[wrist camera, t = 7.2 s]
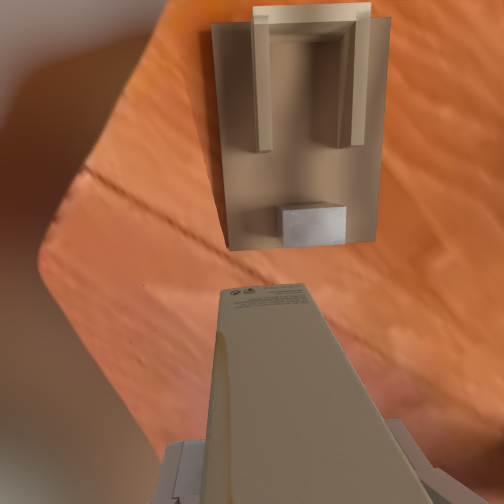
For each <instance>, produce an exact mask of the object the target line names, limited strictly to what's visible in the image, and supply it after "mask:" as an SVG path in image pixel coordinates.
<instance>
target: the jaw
mask: <svg viewBox="0 0 504 504" xmlns="http://www.w3.org/2000/svg"><path fill="white" fill-rule="evenodd" d="M276 216H277V239H278V240H279V242H280V243H281V245H282V246H283V248H294V247H308V246H322V245H336V244H345V231H346V206H343V205H339V204H336V203H332V202H328V203H312V204H296V205H281V206H276Z"/></svg>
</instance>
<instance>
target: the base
mask: <svg viewBox="0 0 504 504" xmlns="http://www.w3.org/2000/svg"><path fill="white" fill-rule="evenodd" d="M390 25H391V17H371V2H368V3H338V4H309V5H279V6H253V11H252V20H251V22H230V23H211V33H212V45H213V57H214V69H215V81H216V94H217V106H218V118H219V130H220V142H221V155H222V167H223V179H224V191H225V203H226V216H227V228H228V240H229V251H242V250H257V249H271V248H283V246H282V245H281V243H280V242H279V240H278V239H277V216H276V206H281V205H296V204H312V203H328V202H332V203H336V204H339V205H343V206H346V231H345V243H357V242H371V241H376V228H377V213H378V199H379V184H380V170H381V155H382V141H383V126H384V112H385V97H386V83H387V68H388V54H389V39H390Z"/></svg>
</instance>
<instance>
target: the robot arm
mask: <svg viewBox="0 0 504 504" xmlns="http://www.w3.org/2000/svg"><path fill="white" fill-rule="evenodd" d="M384 420H385V422H386V424H387V425H388V427H389V429H390V430H391V432H392V434H393V435H394V437H395V439H396V441H397V442H398V444H399V446H400V447H401V449H402V451H403V452H404V454H405V455H406V457H407V459H408V461H409V462H410V464H411V466H412V468H413V469H414V471H415V473H416V474H417V476H418V478H419V480H420V481H421V483H422V485H423V487H424V488H425V490H426V492H427V493H428V495H429V497H430V499H431V500H432V502H433V504H490V503H489V502H487V501H486V500H484V499H483V498H482V497H480V496H479V495H477V494H476V493H474V492H473V491H472V490H470V489H469V488H467V487H466V486H464V485H463V484H461V483H460V482H459V481H457V480H456V479H454V478H453V477H451V476H450V475H449V474H447V473H446V472H444V471H443V470H441V469H440V468H433V466H432V465H431V463H430V462H429V460H428V459H427V457H426V456H425V455H424V453H423V452H422V450H421V449H420V447H419V446H418V444H417V443H416V441H415V440H414V439H413V437H412V436H411V434H410V433H409V431H408V430H407V428H406V427H405V426H404V424H403V423H402V421H401V420H400V419H399V418H390V419H384ZM205 442H206V439H200V440H188V441H178V442H169V443H168V445H167V447H166V449H165V453H164V457H163V461H162V465H161V469H160V473H159V477H158V481H157V485H156V489H155V493H154V496H153V500H152V501H150V502H147V503H146V504H199V502H200V493H201V483H202V473H203V463H204V453H205Z"/></svg>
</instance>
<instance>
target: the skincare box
mask: <svg viewBox="0 0 504 504" xmlns="http://www.w3.org/2000/svg"><path fill="white" fill-rule="evenodd" d="M199 504H433V502H432V500H431V499H430V497H429V495H428V493H427V492H426V490H425V488H424V487H423V485H422V483H421V481H420V480H419V478H418V476H417V474H416V473H415V471H414V469H413V468H412V466H411V464H410V462H409V461H408V459H407V457H406V455H405V454H404V452H403V451H402V449H401V447H400V446H399V444H398V442H397V441H396V439H395V437H394V435H393V434H392V432H391V430H390V429H389V427H388V425H387V424H386V422H385V420H384V419H383V417H382V415H381V413H380V412H379V410H378V408H377V407H376V405H375V403H374V402H373V400H372V398H371V397H370V395H369V393H368V392H367V390H366V388H365V386H364V385H363V383H362V381H361V379H360V378H359V376H358V374H357V373H356V371H355V369H354V367H353V366H352V364H351V362H350V361H349V359H348V357H347V355H346V354H345V352H344V350H343V348H342V347H341V345H340V343H339V342H338V340H337V339H336V337H335V335H334V333H333V332H332V330H331V328H330V326H329V325H328V323H327V321H326V320H325V318H324V316H323V314H322V313H321V311H320V309H319V308H318V306H317V304H316V302H315V301H314V299H313V297H312V296H311V294H310V292H309V290H308V289H307V287H306V285H305V284H303V283H299V284H280V285H265V286H251V287H242V288H233V289H225V290H222V291H221V292H220V300H219V309H218V320H217V331H216V342H215V351H214V361H213V370H212V381H211V390H210V400H209V410H208V420H207V431H206V442H205V453H204V463H203V473H202V483H201V493H200V502H199Z"/></svg>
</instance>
